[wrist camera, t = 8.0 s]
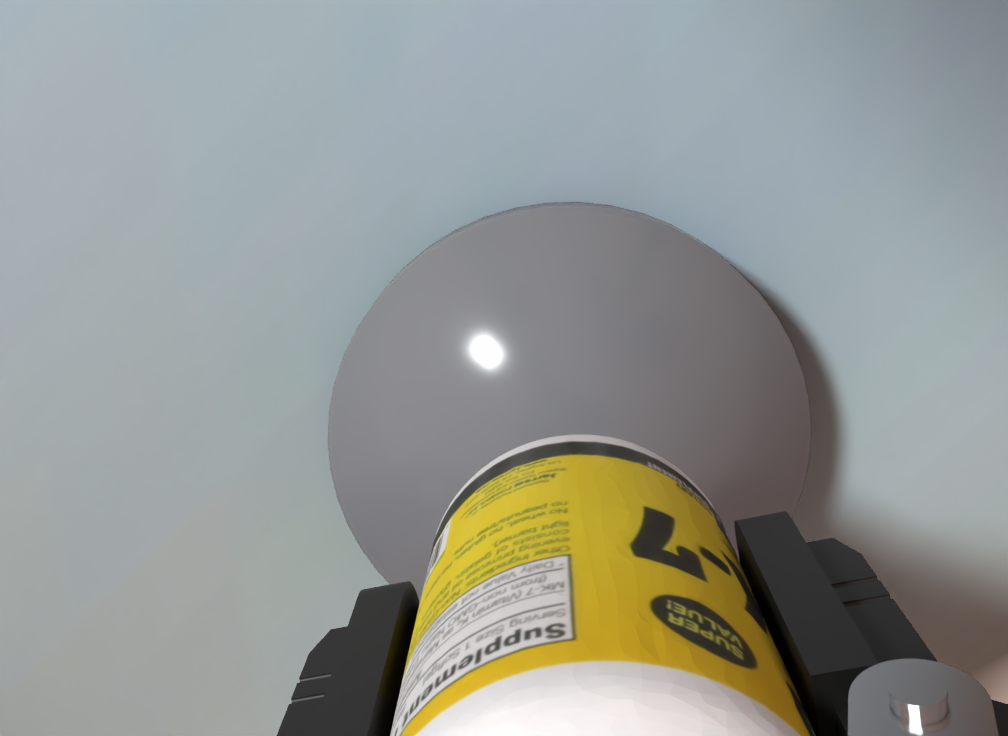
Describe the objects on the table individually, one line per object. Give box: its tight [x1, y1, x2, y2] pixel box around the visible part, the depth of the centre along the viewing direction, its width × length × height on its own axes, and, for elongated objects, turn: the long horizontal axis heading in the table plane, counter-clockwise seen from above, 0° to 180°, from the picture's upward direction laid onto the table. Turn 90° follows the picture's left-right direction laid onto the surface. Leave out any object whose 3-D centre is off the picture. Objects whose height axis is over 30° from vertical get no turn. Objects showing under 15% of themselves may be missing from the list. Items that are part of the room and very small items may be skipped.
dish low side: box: [328, 202, 811, 602], centre depth 19 cm, size 10×10×1 cm
